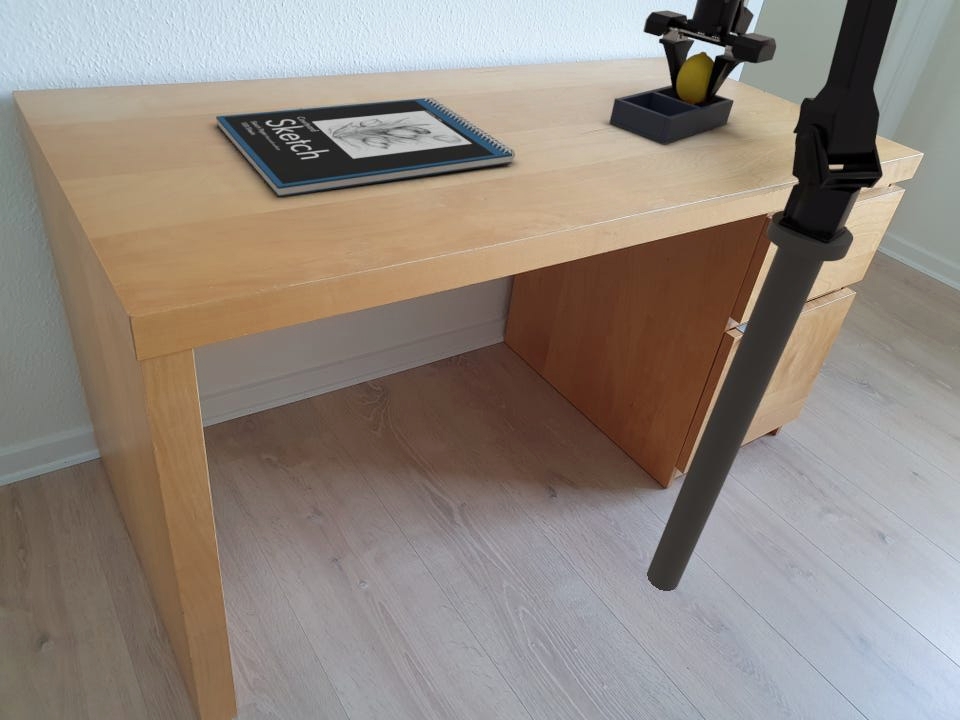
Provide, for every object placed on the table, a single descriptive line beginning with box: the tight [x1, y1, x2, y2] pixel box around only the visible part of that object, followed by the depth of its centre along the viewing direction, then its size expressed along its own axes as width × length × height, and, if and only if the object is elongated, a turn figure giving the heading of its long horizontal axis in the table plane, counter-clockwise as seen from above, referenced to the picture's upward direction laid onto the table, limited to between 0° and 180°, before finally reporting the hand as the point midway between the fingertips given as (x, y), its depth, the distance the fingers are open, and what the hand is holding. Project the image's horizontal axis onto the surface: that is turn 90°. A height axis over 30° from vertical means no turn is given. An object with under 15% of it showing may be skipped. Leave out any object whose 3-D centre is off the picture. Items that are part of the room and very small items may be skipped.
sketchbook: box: [215, 96, 516, 198], centre depth 87 cm, size 22×30×2 cm
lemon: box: [676, 51, 715, 105], centre depth 107 cm, size 6×6×8 cm
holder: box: [609, 84, 735, 145], centre depth 107 cm, size 10×18×4 cm, turn 136°
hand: (691, 96), depth 109 cm, fingers closed on lemon, 5 cm apart
